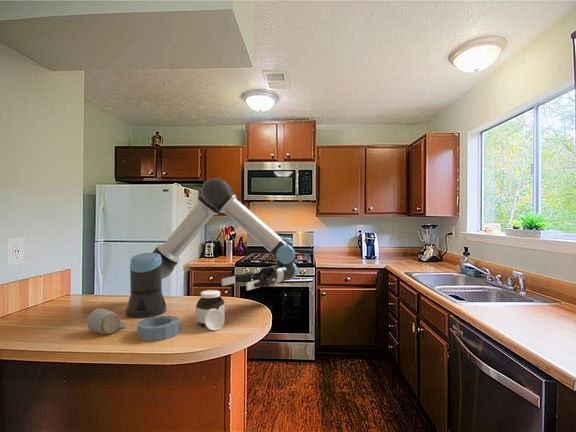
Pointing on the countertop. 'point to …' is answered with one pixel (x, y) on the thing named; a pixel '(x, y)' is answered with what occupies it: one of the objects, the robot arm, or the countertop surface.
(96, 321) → the ceramic mug
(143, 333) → the slate bowl
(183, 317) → the countertop surface
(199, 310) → the spread jar
